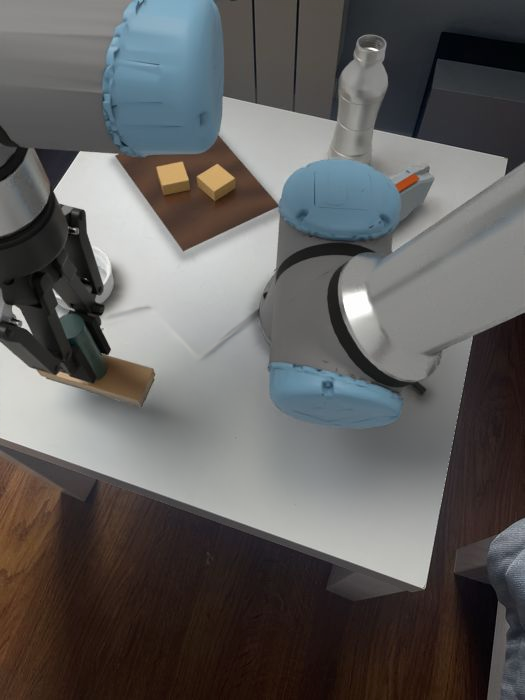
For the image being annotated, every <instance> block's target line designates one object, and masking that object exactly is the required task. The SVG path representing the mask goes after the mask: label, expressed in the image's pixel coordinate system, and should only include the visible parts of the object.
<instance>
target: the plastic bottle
mask: <svg viewBox="0 0 525 700" xmlns="http://www.w3.org/2000/svg"><path fill="white" fill-rule="evenodd" d="M386 49H387V41H386V39H385V38H383V37H382V36H379V35H376V34H364V35H362V36H360V37H359V38H358V39H357V40H356V44H355V49H354V51H353V55H352V56H353V60H351V61H349V63H348V64H347V65H346V66H345V67H344V68H343V70H342V71H341V73H340V75H339V78H338V84H337V85H338V86H337V87H338V91H337V92H338V94H337V95H338V106H337V116H336V123H335V128H334V132H333V137H332V139H331V141H330V144H329V147H328V150H327V159H344V160H352V161H356V162H360V163H364V164H366V165H369V166H370V163H371V161H372V156H373V138H374V129H375V126H376V124H375V123H376V122H377V118H378V114H379V111H380V109H381V106H382V103H383V101H384V98H385V96H386V93H387V90H388V87H389V78H388V73H387V71H386V68H385V66H384V63H383V62H384V60H385V56H386Z"/></svg>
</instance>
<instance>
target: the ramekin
mask: <svg viewBox="0 0 525 700" xmlns="http://www.w3.org/2000/svg"><path fill="white" fill-rule="evenodd" d="M91 247H92V250H93V253H94V256H95V260H96V263H97V266H98V268H100V269H102V270H103V271H104V272H105V273H106V276H105V279H104V281H102V282H103V285H104V290H103V292H102V294H101V295H100V296H99V295H96V298H95V301H96V302H97V303H99V304H103V303H105V301H106V300H108V298H109V297H110V296H111V294H112V292H113V289H114V285H115V280H114V274H113V267H112V261H111V259H110V257H109V256H108V255H107V253H106V252H105V251H103V250H102V249H101V248H99V247H97V246H95V245H92V244H91ZM53 292H54V294H55V297H56V299H57V302H58V305H59V306H60V307H61V308H63V309H65V310H68V311H69V310H72V311H75V310H74V309H72V308H69V307H68V305H67V304H66V303H65V302H64V301H63V300H62V298H61V297H60V296H59V295H58V294H57V293H56V291H55V290H54V289H53Z"/></svg>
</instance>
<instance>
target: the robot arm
mask: <svg viewBox="0 0 525 700" xmlns="http://www.w3.org/2000/svg"><path fill="white" fill-rule="evenodd" d="M236 1H237V0H0V343H1V344H2V345H3V346H4V347H5V348H7V350H9V351H10V352H11V353H12V354H13V355H14V356H16V357H17V358H18V359H19V360H20V361H22V362H23V364H25V365H26V366H27V367H29V368H30V369H33V370H36V371H37V370H39V371H43V372H46V373H49V374H53V375H57V374H58V373H59V372H63V373H66V374H69V376H70V377H73V378H76V379H80V380H83V381H86V382H90V383H93V384H94V382H95V380H96V378H97V377H96V375H95V373H94V372H93V370H92V368H91V367H90V365H89V363H88V362H87V360H86V359H85V357H84V355H83V354H82V352H81V350H80V349H79V347H76V346H73V345H70V344H69V342H68V339H67V337H66V334H65V332H64V329H63V327H62V324H61V322H60V319H59V318H60V316H59V313H58V312H57V309H56V308H57V307H58V305H59V304H58V302H57V299H56V297H55V294H54V292H53V289H54V290H55V291H56V294H58V295H59V296H60V297H61V298H62V300H63V301H64V302H65V303H66V304H67V305H68V307H69V308H72V309H74V310H75V311H73V310H68V312H67V314H77V315H79V316H81V317H82V319H83V320H84V322H85V324H86V326H87V328H88V329H89V331H90V333H91V335H92V337H93V339H94V341H95V342H96V344H97V346H98V348H99V350H100V352H101V354H105V355H108V356H110V353H111V351H112V348H111V346H110V344H109V342H108V340H107V338H106V336H105V334H104V332H103V330H102V327H101V326H102V319H101V317H102V316H103V314H104V313H105V308H106V307H105V304H103V303H101V304H99V303H97V302H96V301H95V298H96V295H99V296H100V295H101V294H102V292H103V290H104V285H103V282H104V281H103V278H102V275H101V272H100V270H99V266H97V263H96V260H95V256H94V253H93V250H92V247H91V245H92V244H91V240H90V238H89V235H88V226H87V213H86V212H87V211H85V209H83V208H79V207H74V206H70V205H66V204H63V203H60V202H59V200H58V198H57V195H56V194H55V191H54V188H53V187H52V186H51V181H50V180H49V177H48V175H47V173H46V170H45V169H44V167H43V165H42V162H41V160H40V158H39V155H38V154H37V151H36V149H40V150H54V151H69V152H82V153H83V152H85V153H98V154H112V155H113V154H114V155H118V154H126V155H130V156H132V157H136V156H137V157H140V158H141V157H146V156H148V155H161V154H199V153H203V152H205V151H207V150H208V149H209V148H210V147H211V146H212V145H213V144H214V142H215V141H216V139H217V137H218V135H219V134H220V130H221V127H222V126H221V125H222V119H223V103H224V102H223V98H224V94H225V93H224V92H225V51H224V50H225V49H224V48H225V47H224V33H223V25H222V19H221V18H222V17H221V13H220V10H219V7H218V6H220V5H224V4H226V3H231V2H236ZM277 204H278V207H277V208H278V213H279V217H278V219H279V221H278V232H277V233H278V235H277V249H276V261H275V263H276V264H275V269H274V270H273V275H272V276H271V278H270V279H269V280H268V283H267V284H266V285H265V287H264V289H263V291H262V294H261V296H260V300H259V306H258V322H259V327H260V331H261V333H262V335H263V337H264V339H265V340H266V342H267V343H268V345H269V346H270V348H269V360H268V364H267V371H268V373H269V375H268V376H269V377H268V379H269V381H268V383H269V384H268V386H269V387H268V392H269V397H270V399H271V402H272V403H273V404H274V405H275V407H276V408H277V409H278V410H279V411H280V412H282V413H283V414H285V415H287V416H289V417H290V418H293V419H296V420H298V421H301V422H304V423H308V424H312V425H317V426H322V427H328V428H339V429H350V430H351V429H352V430H353V429H356V430H357V429H360V430H361V429H373V428H378V427H379V428H380V427H383V426H388V425H390V424H392V423H393V422H396V421H397V420H398V419H399V418H400V417H401V414H402V410H403V409H402V408H403V406H404V404H405V399H404V398H403V397H402V391H403V389H405V388H407V387H409V386H411V387H412V388H414V390H416V391H417V392H418V393H419V394H421V396H423V395H424V394H425V393H426V392H427V390H428V388H426V387H425V386H424V385H423V384H422V383H420V382H421V381H423V380H426V379H427V378H428V377H430V376H431V375H432V374H434V372H435V371H436V370H437V369H438V367H439V365H440V363H441V359H442V354H443V350H446V349H447V348H450V347H452V346H454V345H457V344H458V343H461V342H463V341H465V340H467V339H470V338H472V337H474V336H476V335H479V334H480V333H483V332H485V331H487V330H489V329H492V328H494V327H496V326H498V325H500V324H502V323H505V322H507V321H510V320H511V319H513V318H516V317H517V316H520V315H522V314H525V161H523V162H522V163H521V164H519V165H518V166H516V167H515V168H513V169H512V170H510V171H509V172H507V173H506V174H504V175H503V176H501V177H500V178H498V179H497V180H496V181H494V182H493V183H491V184H490V185H488V186H486V188H484V189H483V190H481V191H479V192H478V193H477V194H476V195H474V196H472V197H471V198H470V199H469V200H467V201H466V202H463V203H462V204H460V205H459V206H458V207H456V208H455V209H453V210H452V211H451V212H450V213H447V214H446V215H445V216H443V217H442V218H441V219H439V220H437V221H436V222H435V223H433V224H432V225H430V226H429V227H427V228H426V229H424V230H422V232H420V233H418V234H417V235H416V236H414V237H413V238H411V239H410V240H408V241H407V242H405V243H404V244H402V245H401V246H400V247H398V248H397V249H395V250H394V251H393V248H392V247H393V238H394V233H395V230H396V228H397V227H398V225H399V224H400V222H399V220H400V218H401V216H400V215H401V214H400V210H401V197H400V194H399V191H398V189H397V187H396V186H395V184H394V183H393V182H392V181H391V180H390V177H389V176H387V175H386V174H385V173H384V172H381V171H378V170H376V169H375V168H374V167H373V166H371V165H370V164H369V165H366V164H364V163H360V162H356V161H352V160H344V159H328V158H327V159H320V160H316V161H313V162H309V163H307V164H306V166H303V167H299V168H298V169H297V170H295V171H293V172H292V173H291V174H290V175H289V177H288V178H287V179H286V181H285V182H284V185H283V187H282V191H281V197H280V199H279V200H278V203H277ZM13 306H15V307H16V308H17V309H19V310H20V311H21V314H22V316H23V318H24V320H25V322H26V324H27V327H28V328H29V330H30V331H29V330H28V329H26V328H25V327H23V321H22V320H20V319H17V315H16V314H14V312H13Z"/></svg>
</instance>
